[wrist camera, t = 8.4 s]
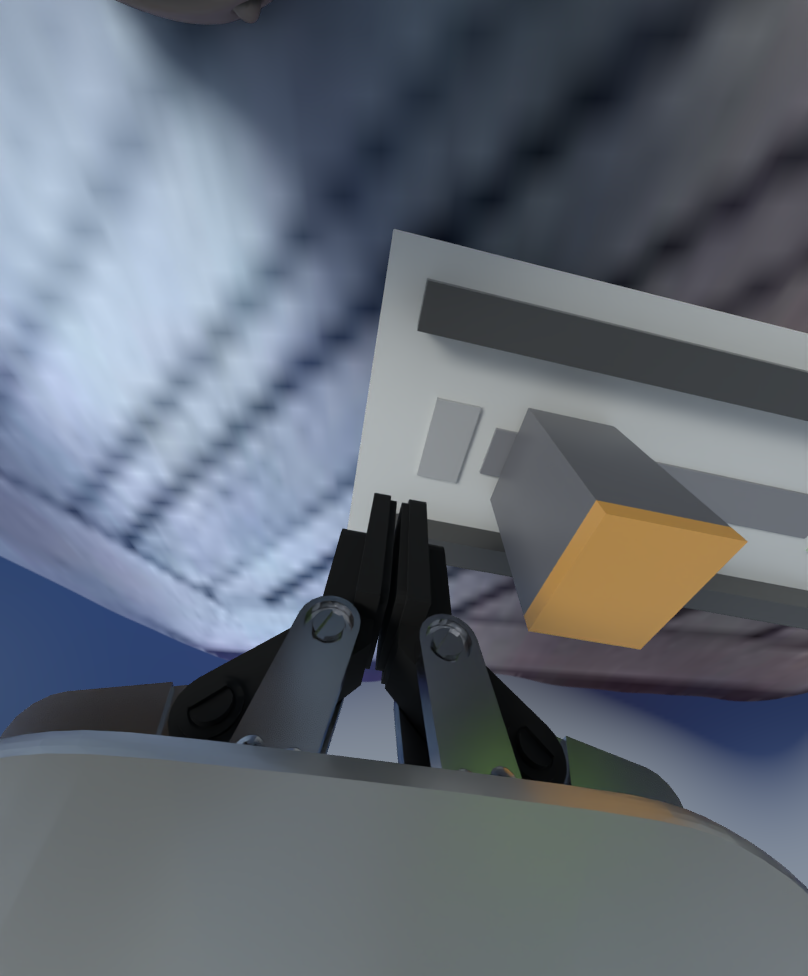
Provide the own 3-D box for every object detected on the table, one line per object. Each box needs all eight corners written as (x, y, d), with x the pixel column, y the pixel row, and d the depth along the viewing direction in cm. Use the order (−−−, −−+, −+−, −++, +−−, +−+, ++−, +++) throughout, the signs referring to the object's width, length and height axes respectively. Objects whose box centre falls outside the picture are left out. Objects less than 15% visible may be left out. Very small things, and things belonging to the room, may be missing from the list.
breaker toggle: (528, 407, 15) (606, 514, 9) (614, 426, 16) (747, 541, 9) (490, 499, 18) (528, 630, 12) (563, 513, 18) (639, 649, 12)
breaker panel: (398, 233, 15) (390, 224, 11) (999, 385, 17) (1167, 422, 13) (353, 511, 23) (340, 562, 19) (766, 588, 25) (828, 647, 21)
